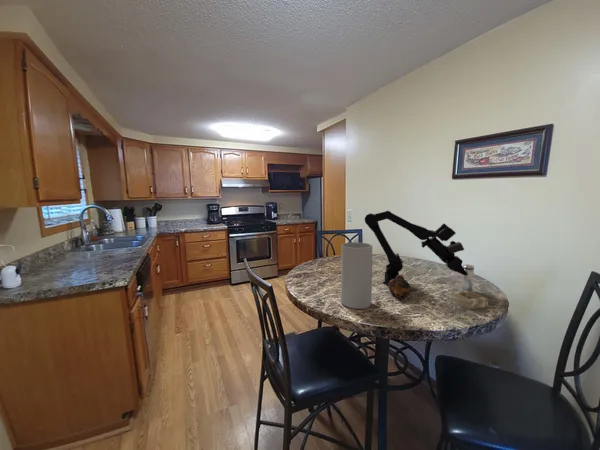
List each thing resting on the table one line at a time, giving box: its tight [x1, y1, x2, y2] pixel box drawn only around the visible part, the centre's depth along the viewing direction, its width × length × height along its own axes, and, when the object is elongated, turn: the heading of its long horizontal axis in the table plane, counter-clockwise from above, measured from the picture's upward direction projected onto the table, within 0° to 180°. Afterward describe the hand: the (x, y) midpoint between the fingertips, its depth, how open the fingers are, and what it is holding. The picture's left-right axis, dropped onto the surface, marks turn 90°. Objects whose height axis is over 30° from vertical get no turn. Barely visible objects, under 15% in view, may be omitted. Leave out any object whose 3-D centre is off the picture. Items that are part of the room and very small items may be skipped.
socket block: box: [450, 290, 489, 310], centre depth 100 cm, size 9×9×4 cm
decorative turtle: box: [387, 274, 412, 298], centre depth 110 cm, size 10×15×8 cm, turn 160°
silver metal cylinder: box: [461, 264, 475, 292], centre depth 113 cm, size 4×4×12 cm
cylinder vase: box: [340, 242, 373, 310], centre depth 101 cm, size 12×12×25 cm
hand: (463, 272), depth 113 cm, fingers open, 9 cm apart
